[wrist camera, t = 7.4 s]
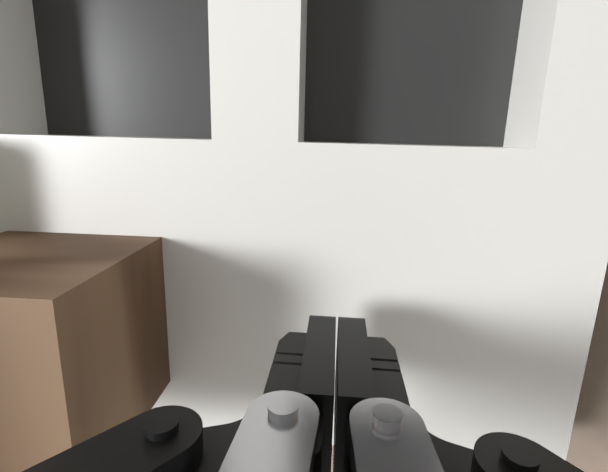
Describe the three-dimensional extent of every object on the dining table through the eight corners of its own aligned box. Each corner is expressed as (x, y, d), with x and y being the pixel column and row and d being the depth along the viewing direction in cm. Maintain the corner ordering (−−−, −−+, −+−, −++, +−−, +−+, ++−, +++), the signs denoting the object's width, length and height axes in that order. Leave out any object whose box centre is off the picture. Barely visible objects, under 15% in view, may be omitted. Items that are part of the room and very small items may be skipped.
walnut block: (161, 236, 13) (52, 299, 8) (170, 380, 14) (80, 513, 9) (7, 230, 13) (-190, 287, 8) (29, 371, 14) (-131, 494, 9)
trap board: (630, -142, 12) (844, -344, 7) (529, 412, 16) (616, 535, 11) (-38, -130, 13) (-265, -290, 8) (37, 378, 17) (-81, 474, 12)
